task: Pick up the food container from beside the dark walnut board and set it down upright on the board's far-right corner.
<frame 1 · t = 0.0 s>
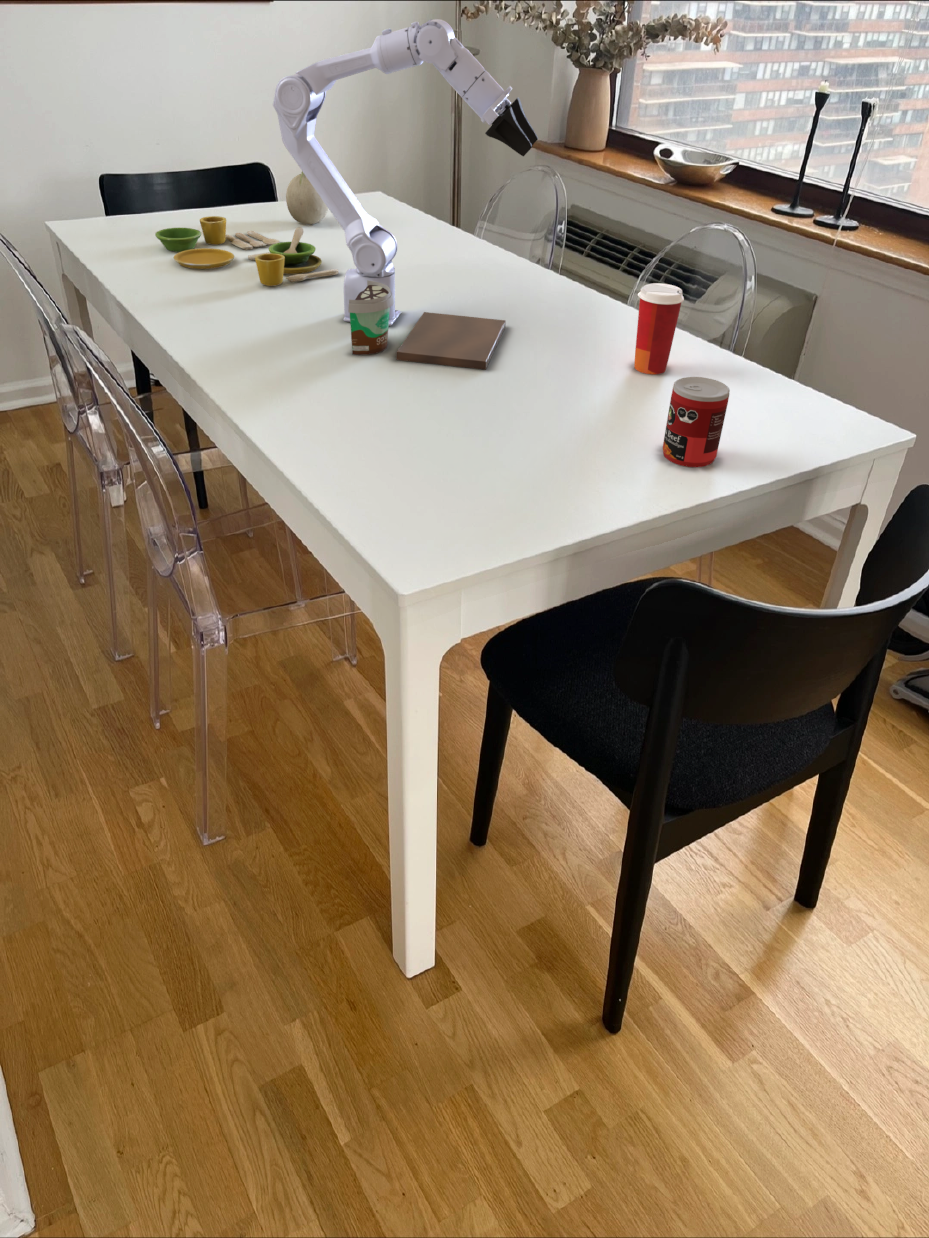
hand: (531, 147, 167), 32 cm above the table, tool tilted 50°, fingers open, 7 cm apart
fruit: (308, 224, 244), on the table
walnut board: (453, 343, 180), on the table
canned food: (688, 457, 146), on the table
tableware set: (242, 262, 216), on the table
paper cup: (649, 369, 174), on the table
food container: (376, 348, 177), on the table
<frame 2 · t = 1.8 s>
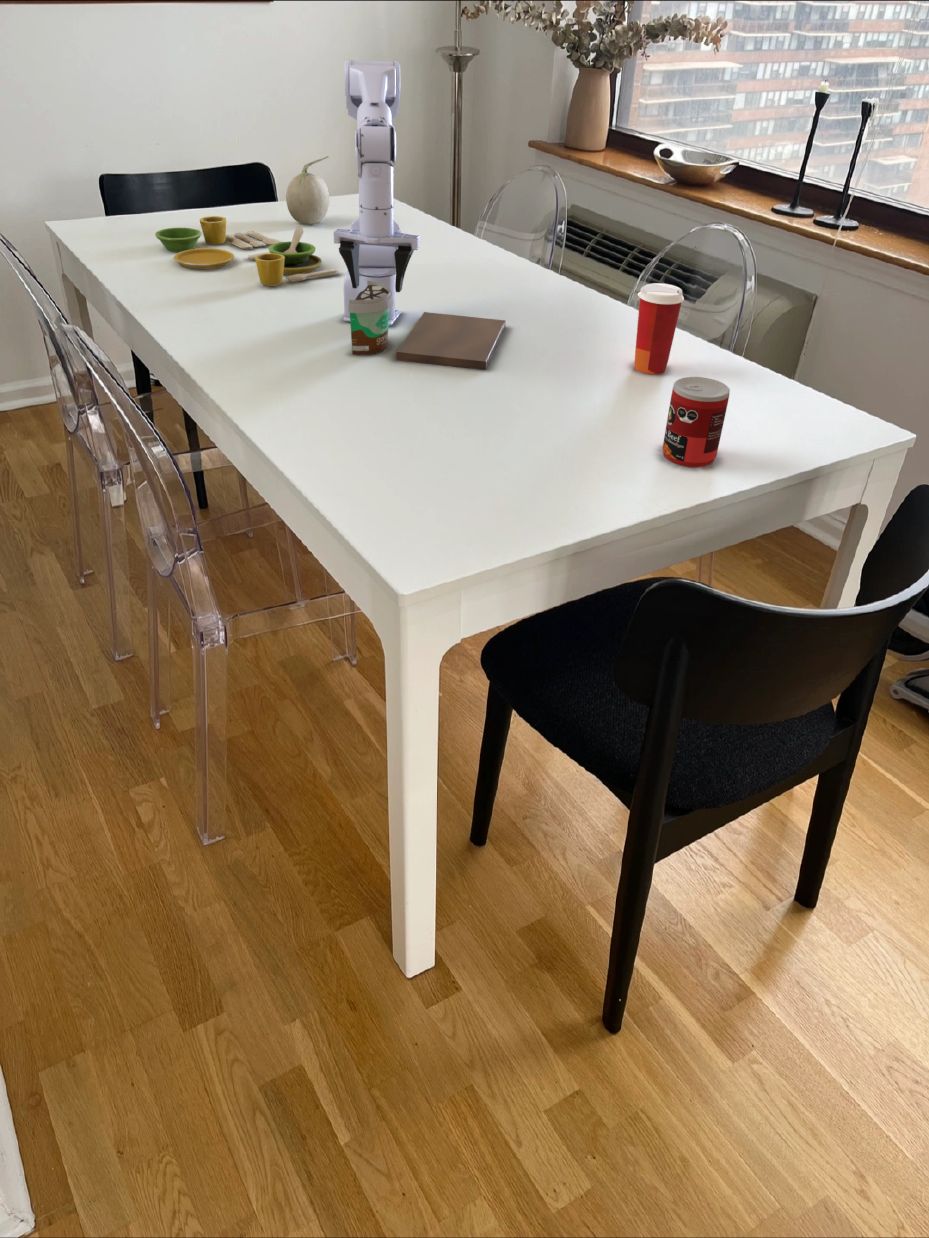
hand: (377, 288, 171), 11 cm above the table, tool pointing down, fingers open, 7 cm apart
nothing on the table moved.
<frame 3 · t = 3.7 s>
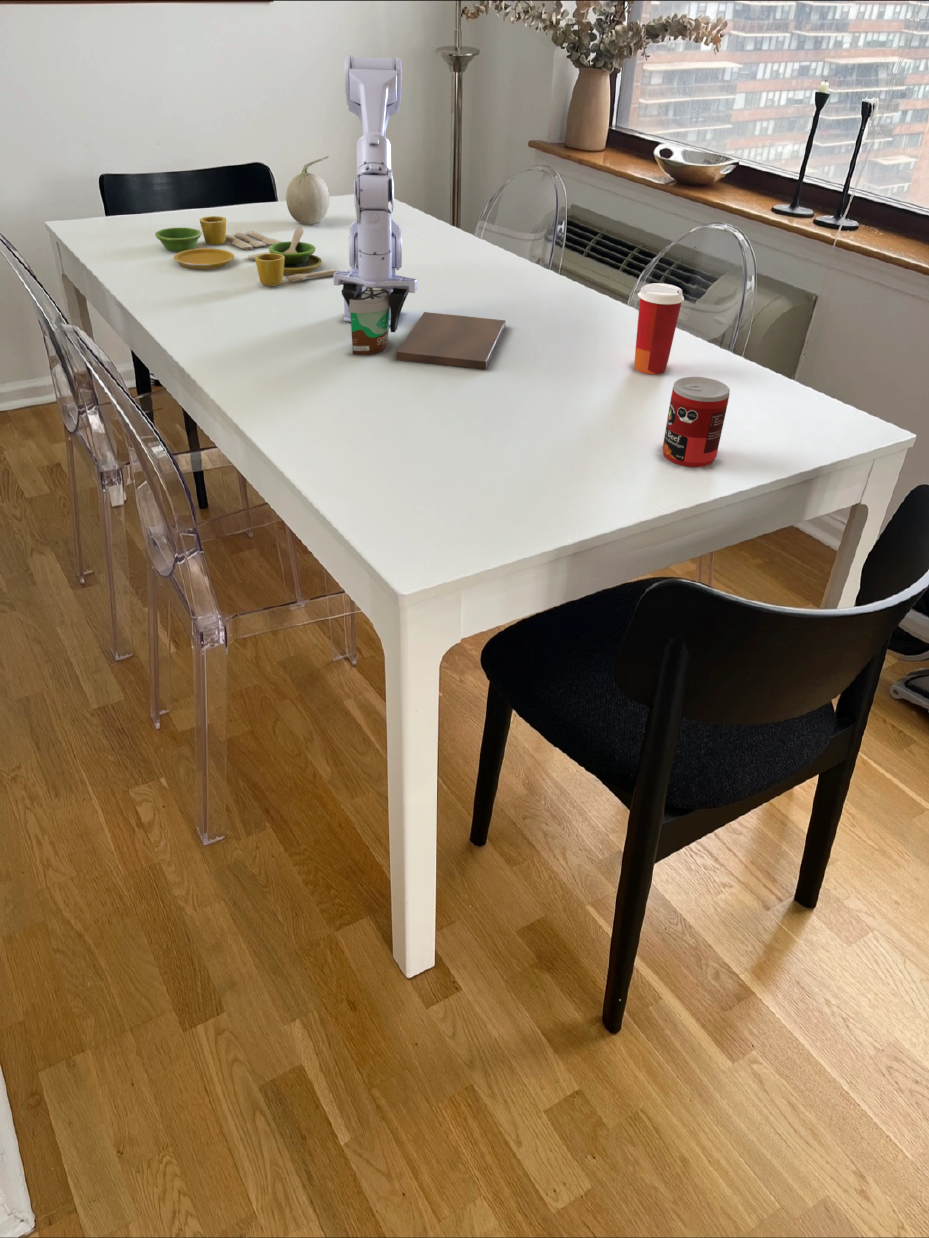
hand: (375, 328, 175), 3 cm above the table, tool pointing down, fingers closed on food container, 6 cm apart
food container: (376, 348, 177), on the table, touching gripper
everything else where it was.
when the fingers open (5 cm above the table, at t = 8.9 s): food container stays where it is, resting on walnut board.
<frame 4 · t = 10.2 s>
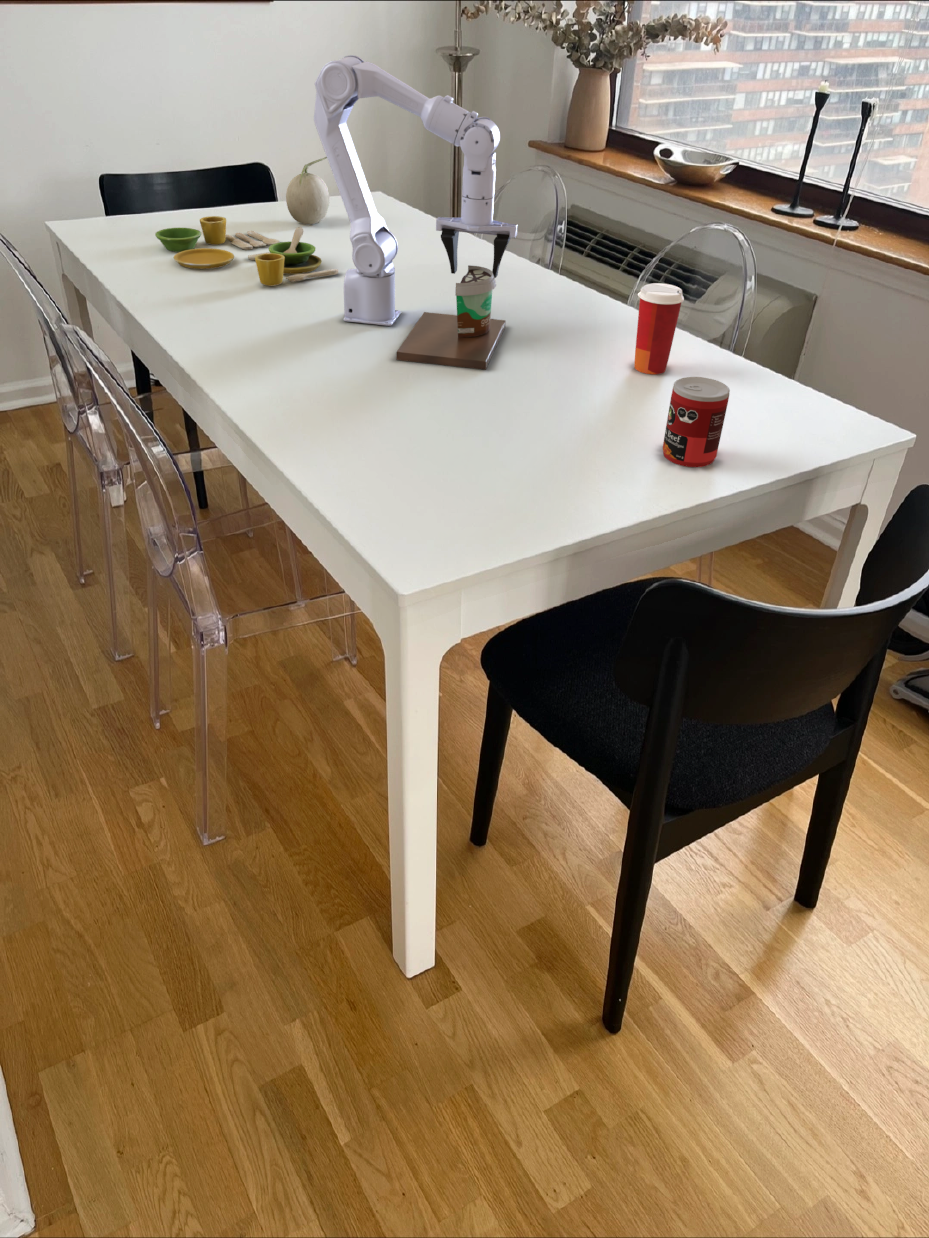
hand: (474, 274, 181), 10 cm above the table, tool pointing down, fingers open, 7 cm apart
food container: (479, 330, 182), point 1 cm above the table, touching gripper, walnut board
everything else where it was.
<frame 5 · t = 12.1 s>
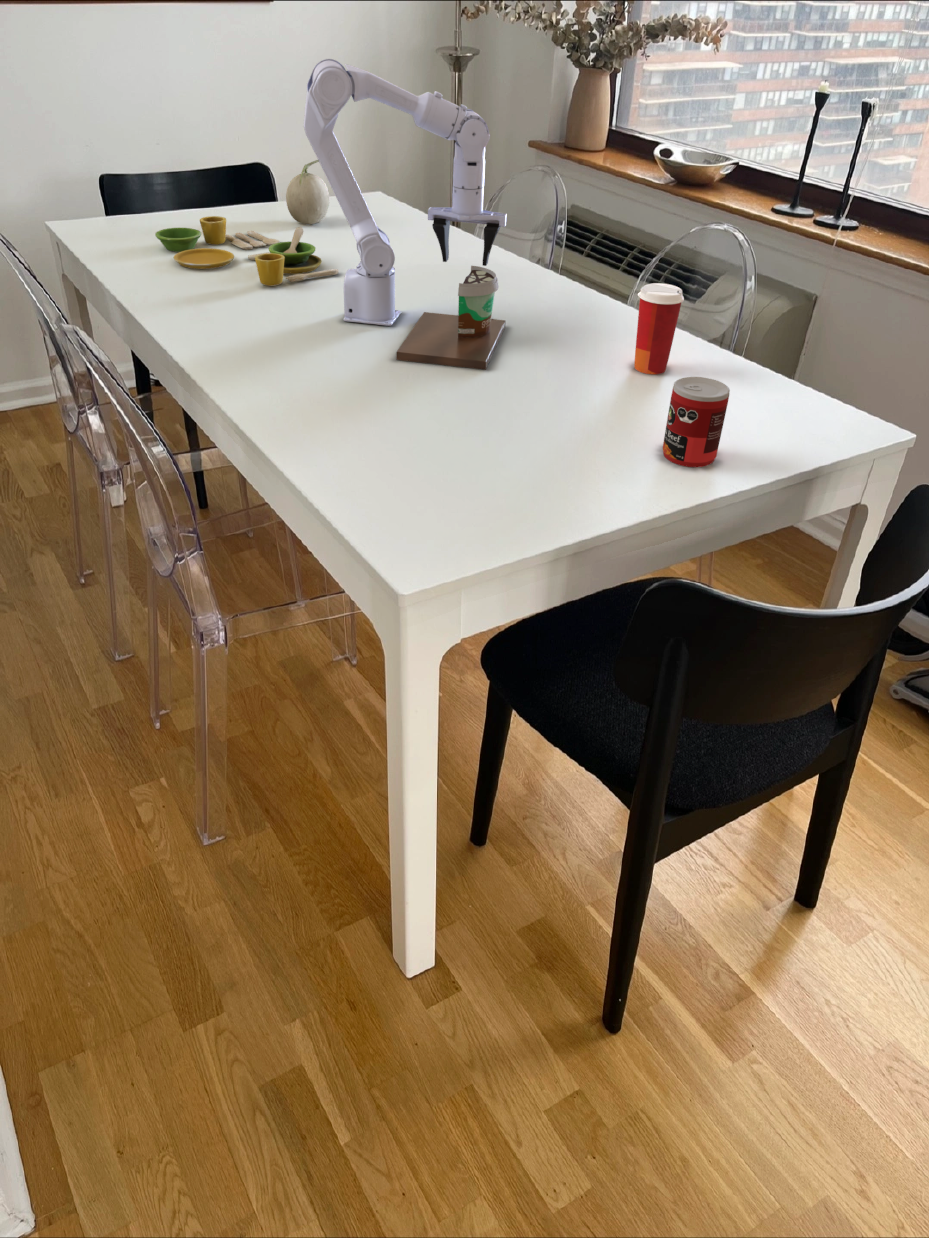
hand: (465, 262, 186), 10 cm above the table, tool pointing down, fingers open, 7 cm apart
food container: (479, 331, 182), point 1 cm above the table, touching walnut board
everything else where it was.
at the end: food container inside the target area (1.9 cm from its centre), point 1.3 cm above the table; food container tilted 0°; the gripper is holding nothing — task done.
